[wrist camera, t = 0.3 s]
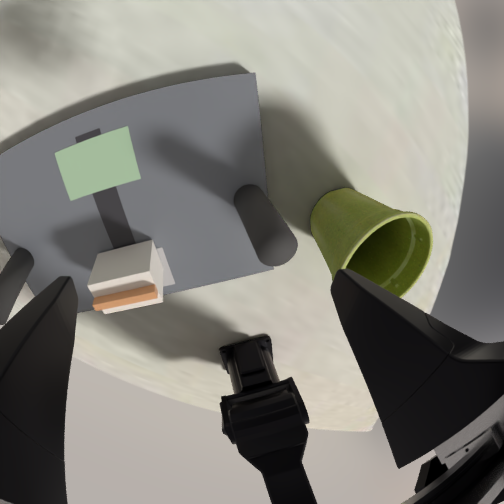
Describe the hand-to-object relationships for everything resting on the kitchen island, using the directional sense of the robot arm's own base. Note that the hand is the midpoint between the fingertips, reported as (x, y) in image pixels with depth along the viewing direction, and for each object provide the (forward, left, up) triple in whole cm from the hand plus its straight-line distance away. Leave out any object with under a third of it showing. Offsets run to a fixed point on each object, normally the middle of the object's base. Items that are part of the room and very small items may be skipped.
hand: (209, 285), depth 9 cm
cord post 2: (-3, -4, -12) cm, 14 cm away
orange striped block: (-6, +7, -12) cm, 15 cm away
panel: (-2, +7, -14) cm, 16 cm away
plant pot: (-7, -12, -14) cm, 20 cm away
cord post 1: (-3, +17, -13) cm, 22 cm away
